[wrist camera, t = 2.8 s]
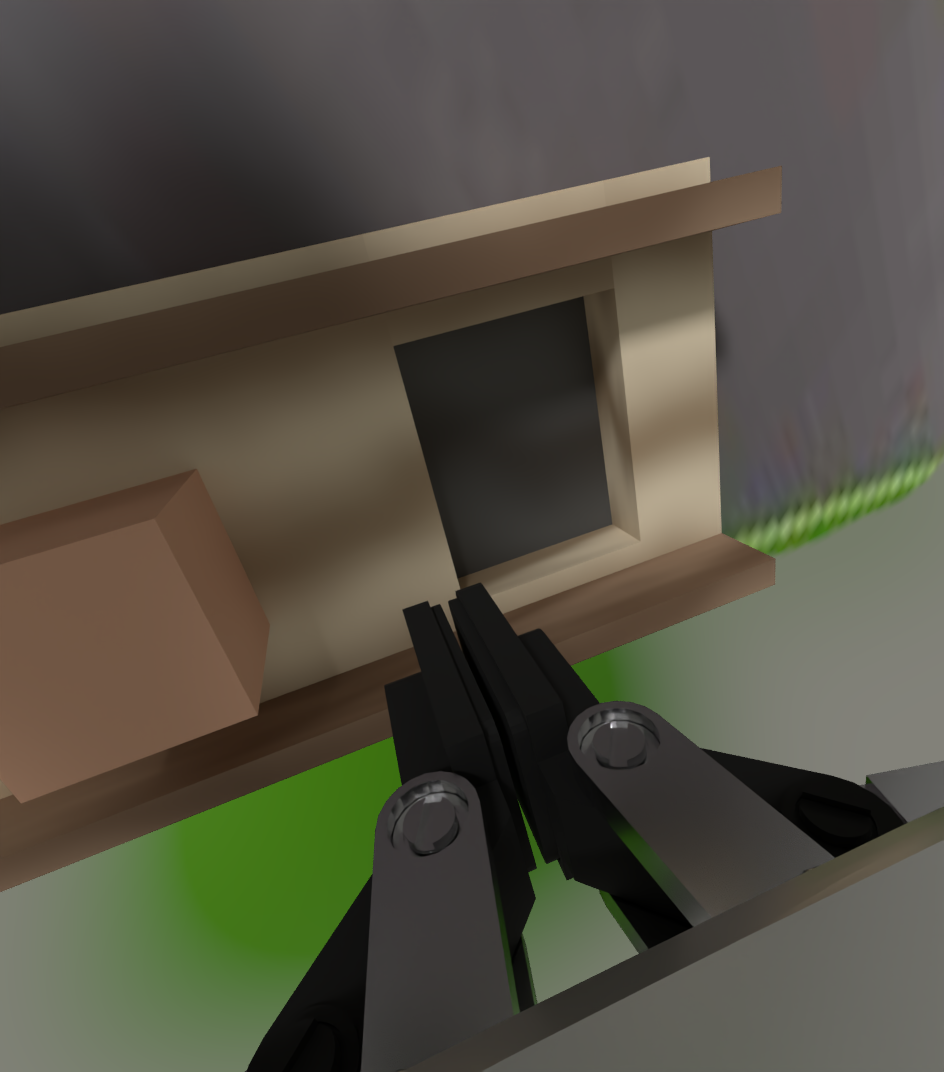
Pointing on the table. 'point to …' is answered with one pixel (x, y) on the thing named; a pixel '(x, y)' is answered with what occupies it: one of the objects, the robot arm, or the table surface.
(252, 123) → the table surface
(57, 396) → the track
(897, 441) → the table surface
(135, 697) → the block
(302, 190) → the table surface
